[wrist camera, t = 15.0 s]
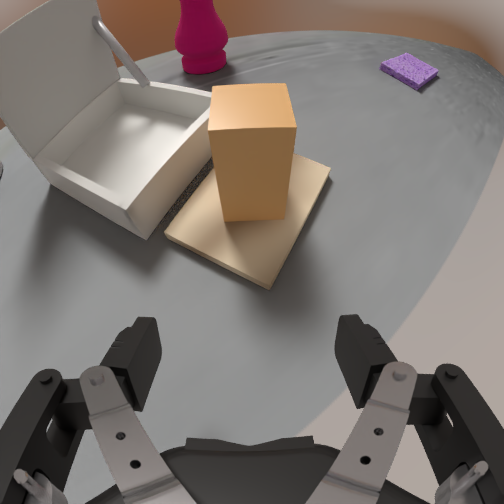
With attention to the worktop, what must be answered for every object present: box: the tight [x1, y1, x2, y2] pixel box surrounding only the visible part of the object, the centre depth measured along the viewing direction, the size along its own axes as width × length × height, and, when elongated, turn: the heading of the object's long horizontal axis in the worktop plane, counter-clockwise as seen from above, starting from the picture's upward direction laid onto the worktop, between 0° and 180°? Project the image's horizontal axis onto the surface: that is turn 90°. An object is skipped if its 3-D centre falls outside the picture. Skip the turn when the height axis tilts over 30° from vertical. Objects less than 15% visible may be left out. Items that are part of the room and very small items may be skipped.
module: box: [208, 83, 297, 222], centre depth 19 cm, size 4×4×9 cm
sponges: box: [379, 53, 438, 90], centre depth 35 cm, size 7×13×2 cm, turn 135°
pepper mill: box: [175, 0, 228, 74], centre depth 26 cm, size 7×7×20 cm
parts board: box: [164, 153, 331, 290], centre depth 23 cm, size 9×12×1 cm
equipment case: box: [0, 0, 212, 241], centre depth 18 cm, size 17×14×18 cm
